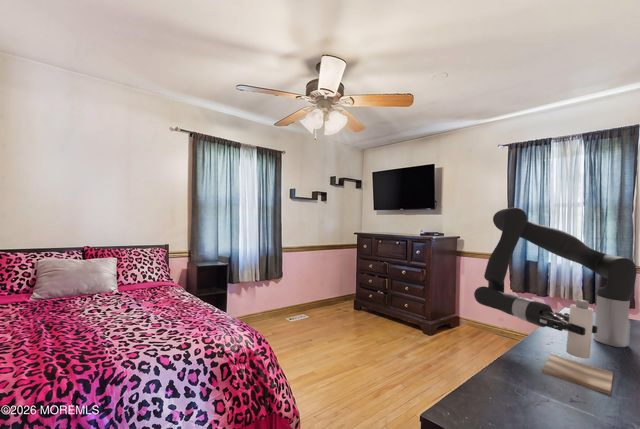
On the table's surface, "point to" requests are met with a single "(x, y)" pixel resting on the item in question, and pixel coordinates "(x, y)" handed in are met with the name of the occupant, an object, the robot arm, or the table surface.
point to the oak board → (579, 373)
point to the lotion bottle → (583, 318)
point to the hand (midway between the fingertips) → (590, 330)
